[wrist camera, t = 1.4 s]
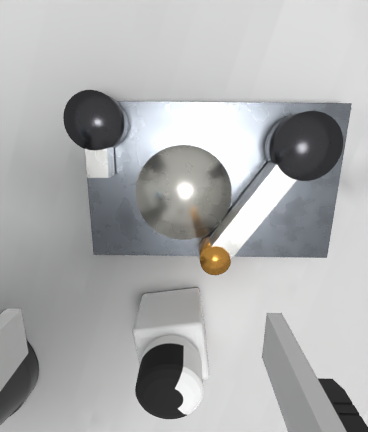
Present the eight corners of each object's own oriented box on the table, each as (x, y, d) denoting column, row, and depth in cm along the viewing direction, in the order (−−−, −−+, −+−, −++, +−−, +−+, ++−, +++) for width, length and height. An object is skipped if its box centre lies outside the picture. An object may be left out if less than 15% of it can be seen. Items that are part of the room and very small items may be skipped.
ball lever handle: (292, 100, 26) (306, 95, 23) (338, 138, 27) (357, 138, 24) (182, 244, 31) (181, 256, 27) (225, 273, 31) (229, 288, 28)
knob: (75, 95, 27) (60, 89, 24) (127, 95, 27) (119, 90, 24) (82, 173, 29) (69, 178, 26) (130, 174, 29) (123, 178, 26)
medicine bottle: (151, 340, 37) (135, 434, 25) (142, 292, 35) (120, 370, 23) (205, 334, 36) (214, 426, 25) (199, 286, 34) (205, 361, 23)
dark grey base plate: (99, 247, 33) (92, 255, 31) (87, 103, 29) (79, 100, 27) (318, 250, 33) (328, 258, 31) (340, 105, 29) (353, 103, 26)
